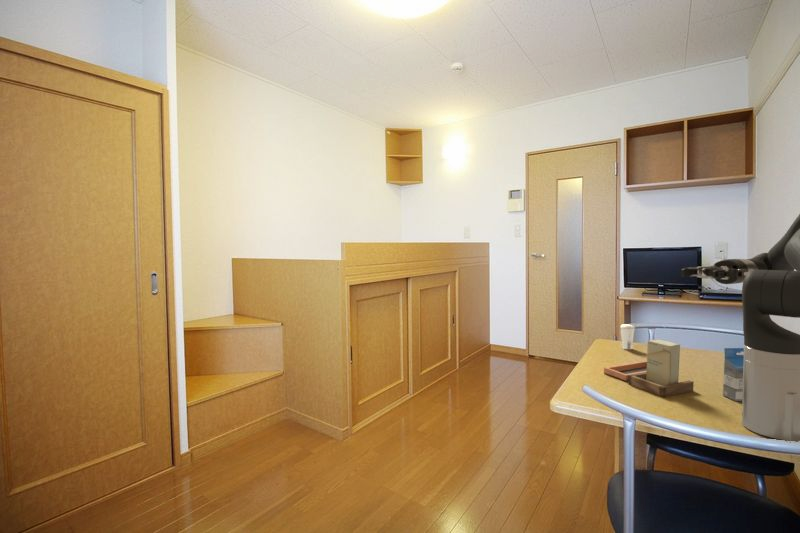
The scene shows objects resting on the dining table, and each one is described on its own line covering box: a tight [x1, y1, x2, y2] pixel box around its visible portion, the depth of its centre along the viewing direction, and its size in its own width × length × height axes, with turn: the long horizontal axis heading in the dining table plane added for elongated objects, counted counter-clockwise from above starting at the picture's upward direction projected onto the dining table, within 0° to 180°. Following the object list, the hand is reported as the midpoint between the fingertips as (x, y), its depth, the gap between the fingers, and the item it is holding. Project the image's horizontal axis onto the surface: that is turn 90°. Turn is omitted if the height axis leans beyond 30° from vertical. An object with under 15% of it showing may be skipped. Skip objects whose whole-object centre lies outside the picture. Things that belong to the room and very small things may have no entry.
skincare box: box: [646, 338, 681, 386], centre depth 102 cm, size 6×4×12 cm
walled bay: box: [627, 372, 695, 398], centre depth 102 cm, size 10×11×2 cm
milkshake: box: [619, 322, 638, 351], centre depth 139 cm, size 4×5×10 cm
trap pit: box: [603, 360, 647, 383], centre depth 113 cm, size 8×18×2 cm, turn 109°
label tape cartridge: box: [722, 347, 744, 402], centre depth 93 cm, size 9×4×12 cm, turn 88°
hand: (697, 273), depth 109 cm, fingers open, 8 cm apart
